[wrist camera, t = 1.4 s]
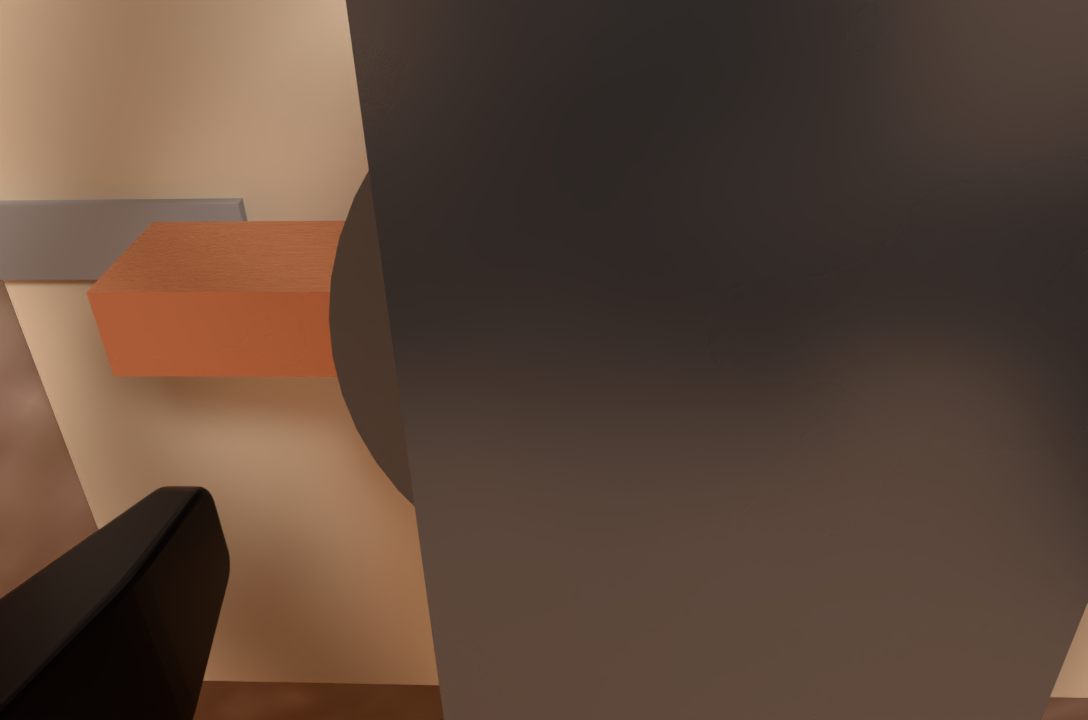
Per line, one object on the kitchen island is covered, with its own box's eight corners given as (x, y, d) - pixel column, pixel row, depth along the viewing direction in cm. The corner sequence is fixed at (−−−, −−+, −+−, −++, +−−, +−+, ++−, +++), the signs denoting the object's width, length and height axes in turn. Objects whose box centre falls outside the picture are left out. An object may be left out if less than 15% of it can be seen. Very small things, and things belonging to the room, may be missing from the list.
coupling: (1060, -228, 10) (1985, -185, 3) (887, 535, 16) (1097, 1101, 9) (60, -195, 11) (-843, -104, 4) (251, 528, 17) (17, 1055, 10)
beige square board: (1801, -835, 9) (1992, -928, 7) (1129, 649, 19) (1164, 707, 18) (-289, -702, 10) (-410, -764, 9) (177, 633, 20) (152, 687, 19)
